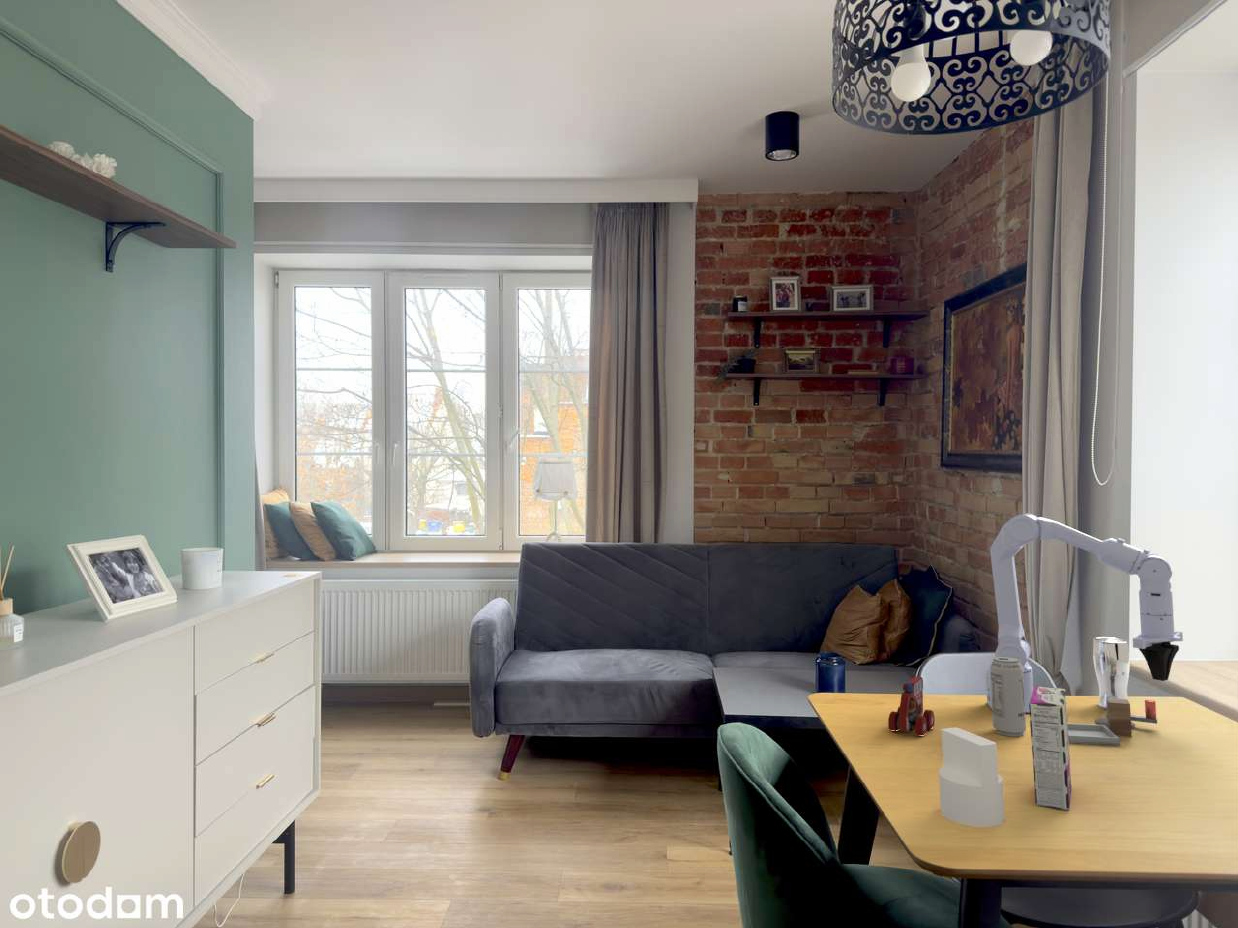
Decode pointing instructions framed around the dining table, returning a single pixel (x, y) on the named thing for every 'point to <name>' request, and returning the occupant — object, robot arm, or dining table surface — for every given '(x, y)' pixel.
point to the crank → (1150, 713)
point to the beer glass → (1111, 668)
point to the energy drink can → (1008, 696)
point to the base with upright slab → (970, 780)
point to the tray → (1091, 734)
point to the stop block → (1119, 716)
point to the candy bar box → (1050, 747)
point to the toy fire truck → (912, 710)
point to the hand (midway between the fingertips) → (1160, 679)
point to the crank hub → (1105, 722)
